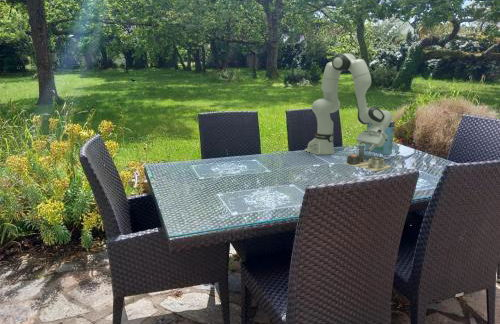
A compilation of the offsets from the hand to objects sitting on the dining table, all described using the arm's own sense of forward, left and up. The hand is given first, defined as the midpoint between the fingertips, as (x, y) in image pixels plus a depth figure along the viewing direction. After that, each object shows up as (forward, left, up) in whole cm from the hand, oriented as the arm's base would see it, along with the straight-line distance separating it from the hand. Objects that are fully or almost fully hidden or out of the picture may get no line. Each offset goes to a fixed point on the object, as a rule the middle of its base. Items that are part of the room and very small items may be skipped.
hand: (363, 148), depth 270 cm
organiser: (+8, -7, -9) cm, 14 cm away
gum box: (-10, +34, -9) cm, 37 cm away
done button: (0, -10, -4) cm, 11 cm away
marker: (0, -2, -8) cm, 8 cm away
